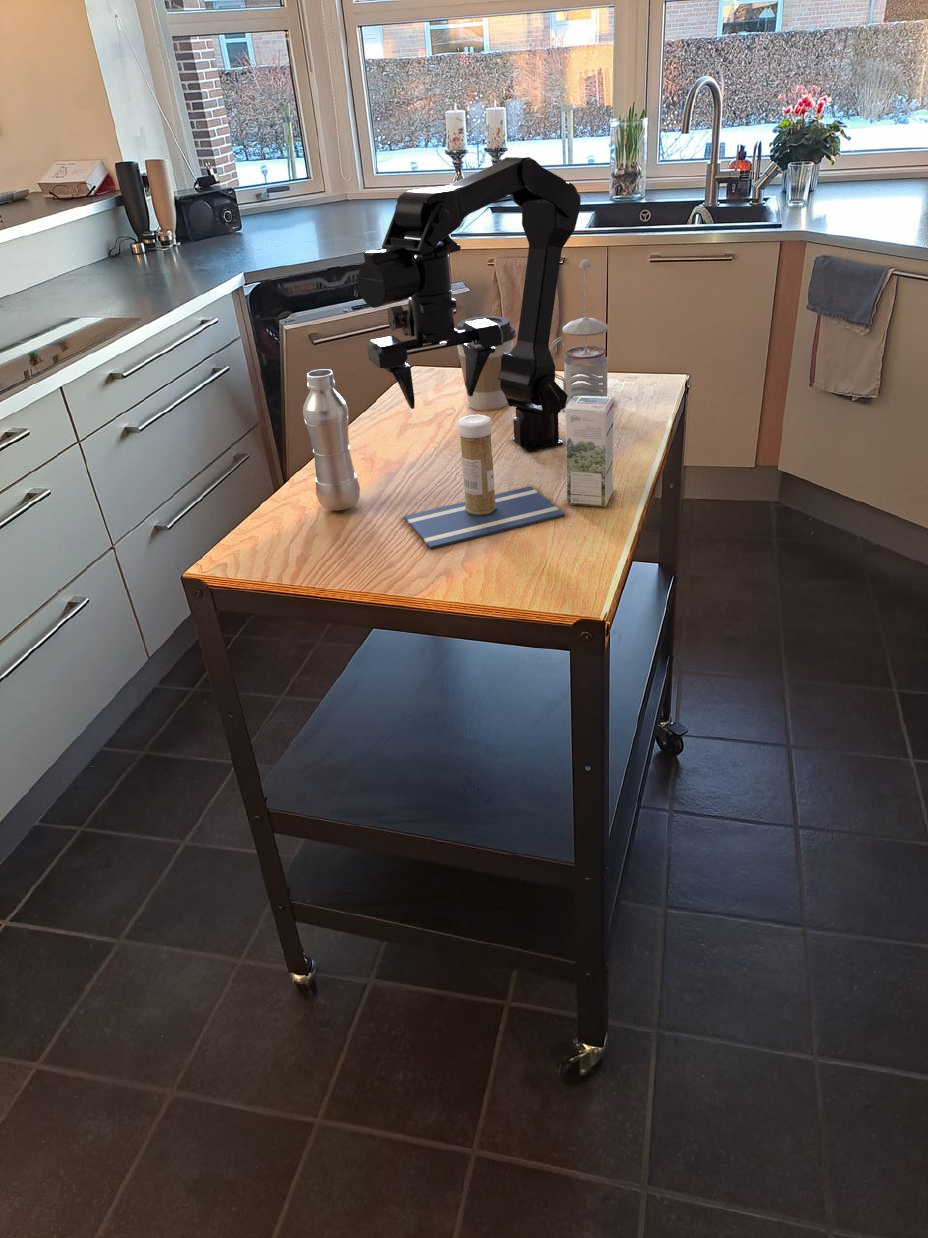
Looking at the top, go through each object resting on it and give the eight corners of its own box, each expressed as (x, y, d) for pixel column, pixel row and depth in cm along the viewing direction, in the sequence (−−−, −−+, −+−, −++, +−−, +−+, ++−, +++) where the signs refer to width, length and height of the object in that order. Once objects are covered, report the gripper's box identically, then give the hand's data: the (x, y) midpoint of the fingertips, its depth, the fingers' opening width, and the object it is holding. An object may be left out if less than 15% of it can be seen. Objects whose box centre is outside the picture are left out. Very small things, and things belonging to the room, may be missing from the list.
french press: (616, 411, 163) (618, 263, 150) (550, 416, 164) (546, 268, 151) (609, 394, 171) (610, 251, 158) (547, 398, 172) (543, 257, 159)
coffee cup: (462, 395, 177) (456, 315, 169) (521, 393, 175) (518, 312, 168) (454, 415, 168) (447, 331, 160) (516, 413, 166) (512, 329, 158)
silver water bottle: (327, 519, 133) (305, 383, 123) (312, 503, 138) (289, 372, 128) (369, 508, 135) (350, 374, 125) (352, 493, 141) (333, 363, 130)
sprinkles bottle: (502, 510, 131) (498, 419, 124) (476, 519, 129) (469, 427, 122) (484, 500, 134) (478, 410, 127) (458, 509, 132) (451, 418, 125)
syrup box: (613, 491, 134) (614, 394, 127) (605, 508, 129) (606, 408, 122) (575, 489, 136) (574, 393, 128) (565, 506, 131) (564, 407, 124)
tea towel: (530, 488, 137) (530, 485, 137) (564, 515, 128) (564, 513, 128) (404, 518, 132) (403, 515, 131) (430, 549, 123) (430, 546, 123)
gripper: (469, 271, 136) (477, 375, 144) (348, 292, 130) (363, 399, 138) (501, 284, 127) (507, 394, 135) (373, 306, 121) (388, 420, 129)
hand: (441, 401), depth 135 cm, fingers open, 9 cm apart
